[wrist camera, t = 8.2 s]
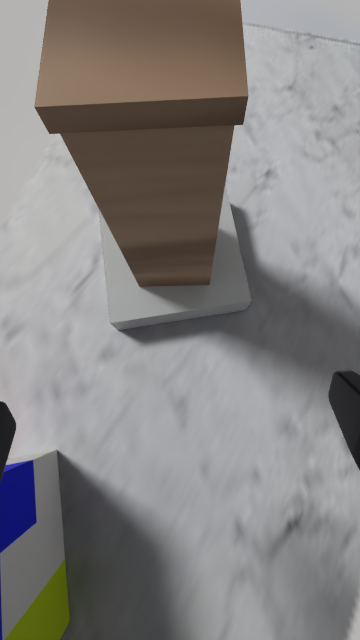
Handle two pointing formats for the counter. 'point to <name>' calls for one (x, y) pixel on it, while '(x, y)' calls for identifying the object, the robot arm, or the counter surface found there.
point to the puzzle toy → (32, 550)
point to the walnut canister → (149, 120)
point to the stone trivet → (176, 301)
